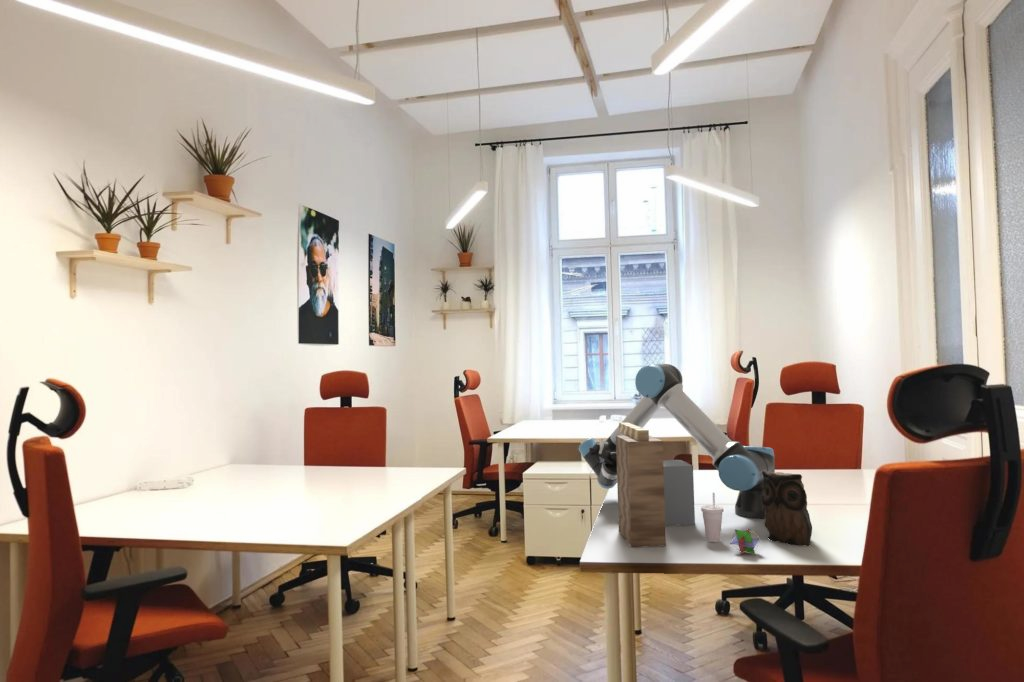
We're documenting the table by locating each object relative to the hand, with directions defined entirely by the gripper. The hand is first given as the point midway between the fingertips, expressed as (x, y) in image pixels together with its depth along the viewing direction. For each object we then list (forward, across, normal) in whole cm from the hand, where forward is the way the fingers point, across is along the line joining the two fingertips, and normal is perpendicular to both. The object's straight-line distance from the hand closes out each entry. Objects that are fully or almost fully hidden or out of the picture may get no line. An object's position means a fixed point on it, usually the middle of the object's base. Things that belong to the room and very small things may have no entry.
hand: (622, 441), depth 222 cm
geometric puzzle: (+23, -24, -44) cm, 56 cm away
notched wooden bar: (+16, 0, -5) cm, 17 cm away
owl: (+13, -43, -38) cm, 59 cm away
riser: (-12, -16, -24) cm, 31 cm away
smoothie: (+11, -20, -37) cm, 44 cm away
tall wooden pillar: (+7, 0, -34) cm, 35 cm away
